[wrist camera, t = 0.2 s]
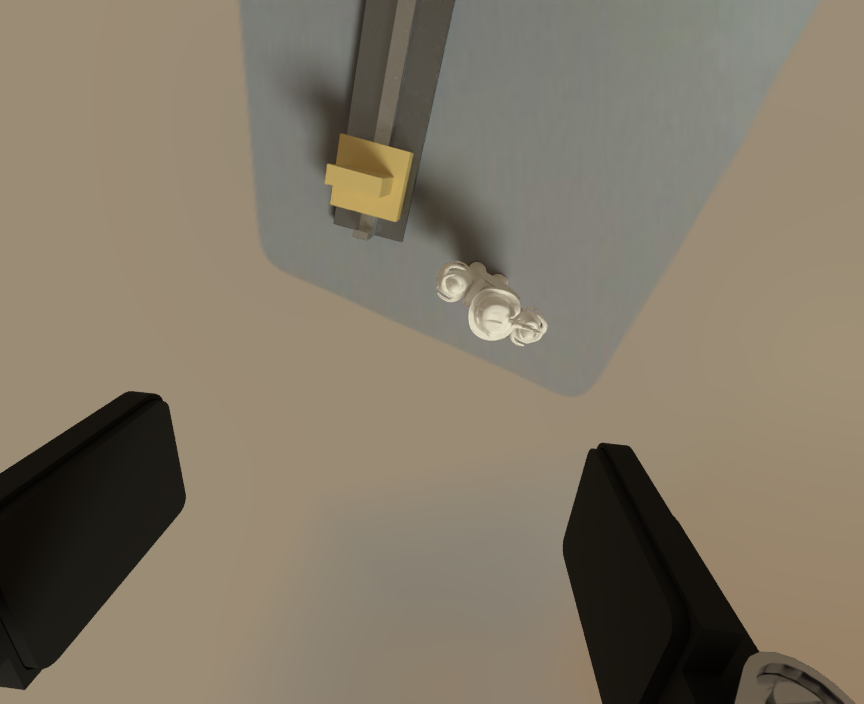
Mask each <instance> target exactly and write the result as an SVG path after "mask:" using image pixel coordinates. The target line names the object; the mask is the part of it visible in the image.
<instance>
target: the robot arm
mask: <svg viewBox="0 0 864 704" xmlns="http://www.w3.org/2000/svg"><path fill="white" fill-rule="evenodd" d="M185 500H186V494H185V488H184V483H183V478H182V472H181V467H180V462H179V457H178V452H177V446H176V441H175V436H174V431H173V425H172V420H171V415H170V410H169V406H168V404H167V403H166V402H164V401H163V400H162V398H161V397H160V396H159V395H157V394H153V393H144V392H134V391H128V392H126V393H124V394H122V395H121V396H119V397H118V398H116V399H114V400H113V401H111V402H110V403H108V404H107V405H105V406H104V407H102V408H101V409H99V410H97V411H96V412H94V413H93V414H91V415H90V416H88V417H87V418H85V419H84V420H82V421H80V422H79V423H77V424H76V425H74V426H73V427H71V428H70V429H68V430H67V431H65V432H64V433H62V434H60V435H59V436H57V437H56V438H55V439H53V440H51V441H50V442H48V443H47V444H45V445H43V446H42V447H40V448H39V449H38V450H36V451H35V452H33V453H31V454H30V455H28V456H26V457H25V458H23V459H22V460H20V461H19V462H17V463H16V464H14V465H13V466H11V467H9V468H8V469H6V470H5V471H4V472H2V473H0V687H7V688H15V689H22V690H25V689H26V688H27V687H28V686H29V684H30V683H31V682H32V681H33V680H34V678H35V677H36V676H37V675H38V674H39V673H40V672H41V670H42V669H44V668H47V667H49V666H51V665H52V664H53V663H54V662H56V661H57V659H58V658H59V657H60V656H61V655H62V654H63V653H64V651H65V650H66V649H67V648H68V647H69V645H70V644H71V643H72V642H73V641H74V639H75V638H76V637H77V636H78V634H79V633H80V632H81V631H82V630H83V629H84V627H85V626H86V625H87V624H88V623H89V621H90V620H91V619H92V618H93V617H94V615H95V614H96V613H97V611H99V609H100V608H101V607H102V606H103V605H104V603H105V602H106V601H107V600H108V599H109V597H110V596H111V595H112V594H113V592H114V591H115V590H116V589H117V588H118V586H119V585H120V584H121V583H122V581H124V579H125V578H126V577H127V576H128V575H129V573H130V572H131V571H132V570H133V569H134V567H135V566H136V565H137V564H138V562H139V561H140V560H141V559H142V558H143V557H144V555H145V554H146V553H147V552H148V551H149V549H150V548H151V547H152V546H153V545H154V543H155V542H156V541H157V540H158V539H159V537H160V536H161V535H162V534H163V533H164V531H165V530H166V529H167V528H168V527H169V525H170V524H171V523H172V522H173V521H174V519H175V518H176V517H177V516H178V514H179V513H180V512H181V511H182V509H183V507H184V504H185ZM563 556H564V560H565V564H566V568H567V571H568V575H569V579H570V583H571V587H572V590H573V594H574V598H575V602H576V606H577V609H578V613H579V617H580V621H581V624H582V628H583V632H584V636H585V640H586V643H587V647H588V651H589V655H590V658H591V662H592V666H593V670H594V674H595V677H596V681H597V685H598V689H599V693H600V696H601V700H602V704H855V702H854V701H853V700H851V699H850V698H849V697H848V696H847V695H846V694H845V693H844V692H843V691H842V690H841V689H840V688H839V687H838V686H836V685H835V684H834V683H833V682H832V681H830V680H829V679H828V678H826V677H825V676H823V675H822V674H821V673H819V672H818V671H816V670H815V669H814V668H812V667H810V666H808V665H806V664H804V663H802V662H800V661H798V660H796V659H795V658H792V657H789V656H786V655H782V654H779V653H776V652H759V651H758V649H757V647H756V646H755V644H754V643H753V641H752V639H751V638H750V636H749V635H748V633H747V631H746V630H745V628H744V626H743V625H742V623H741V622H740V620H739V619H738V617H737V615H736V614H735V612H734V610H733V609H732V607H731V606H730V604H729V602H728V601H727V600H726V598H725V596H724V594H723V593H722V591H721V589H720V588H719V586H718V585H717V583H716V581H715V580H714V578H713V576H712V575H711V573H710V572H709V570H708V568H707V567H706V565H705V564H704V562H703V560H702V559H701V557H700V556H699V554H698V552H697V551H696V549H695V547H694V546H693V544H692V543H691V541H690V539H689V538H688V536H687V535H686V533H685V531H684V530H683V528H682V527H681V525H680V524H679V522H678V521H677V520H676V518H675V517H674V516H673V515H672V513H671V512H670V510H669V509H668V507H667V505H666V504H665V502H664V500H663V499H662V497H661V496H660V494H659V492H658V491H657V489H656V487H655V486H654V484H653V483H652V481H651V479H650V478H649V476H648V474H647V473H646V471H645V469H644V468H643V466H642V465H641V463H640V461H639V460H638V458H637V457H636V455H635V453H634V452H633V450H632V449H631V448H630V447H629V446H627V445H618V444H609V443H600V444H599V445H598V447H597V449H590V450H589V452H588V455H587V459H586V462H585V466H584V469H583V473H582V476H581V480H580V483H579V487H578V491H577V494H576V498H575V501H574V504H573V508H572V512H571V515H570V519H569V522H568V526H567V529H566V533H565V536H564V540H563Z"/></svg>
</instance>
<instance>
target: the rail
mask: <svg viewBox="0 0 864 704" xmlns="http://www.w3.org/2000/svg"><path fill="white" fill-rule="evenodd" d="M454 3H455V0H366V5H365V12H364V19H363V26H362V33H361V40H360V46H359V53H358V60H357V67H356V74H355V81H354V87H353V94H352V101H351V108H350V115H349V122H348V129H347V135H349V136H353V137H356V138H360V139H364V140H367V141H371V142H375V143H378V144H382V145H385V146H389V147H393V148H396V149H400V150H404V151H407V152H411V153H414V154H413V158H412V163H411V168H410V173H409V177H408V182H407V187H406V192H405V197H404V201H403V206H402V211H401V216H400V219H399V220H398V221H397V222H393V221H390V220H386V219H382V218H379V217H375V216H371V215H367V214H364V213H360V212H356V211H353V210H349V209H345V208H342V207H338V206H336V211H335V217H334V224H335V225H339V226H343V227H347V228H350V229H353V235H352V237H356V238H359V239H363V240H368V239H370V238H371V237H372V236H374V235H376V236H380V237H384V238H388V239H391V240H395V241H399V242H402V241H403V238H404V234H405V229H406V224H407V220H408V215H409V210H410V206H411V201H412V197H413V192H414V187H415V183H416V178H417V174H418V169H419V164H420V160H421V155H422V151H423V146H424V141H425V137H426V132H427V128H428V123H429V118H430V114H431V109H432V105H433V100H434V95H435V91H436V86H437V82H438V77H439V72H440V68H441V63H442V58H443V54H444V49H445V45H446V40H447V35H448V31H449V26H450V22H451V17H452V12H453V8H454Z"/></svg>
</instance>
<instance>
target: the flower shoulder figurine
mask: <svg viewBox="0 0 864 704" xmlns="http://www.w3.org/2000/svg"><path fill="white" fill-rule="evenodd" d="M456 263H461V264H463V265H465V266H463V265H458V264H456ZM438 276H440V278H439V283H438V281H437V280H438ZM438 276H437V279H436V281H437V283H438V286H437V290H439V291H440V292H442V293H443V294H445V295H446V296H447V297H450V298H445V297H443V296H442V295H440V294H439V293H438V292H437V294H438V296H439V297H440V298H441V299H442V300H445V301H447V302H454V301H457V300H459V299H460V298H461V297H462V296H463V295H464V294H465V296H464V302H463V304H464V305H465V306H469V305H470V304H471V305H470V309H469V325H470V328H471V330H472V331H473V333H474V334H475V335H477V336H478V337H480V338H482V339H485V340H491V341H493V340H499V339H502V338H505V337H506V336H508V335H510V339H511V341H512V342H513V343H515V344H516V345H519V346H525V345H523V344H520V343H518V342H517V341H516V340H515V339H514V337H515V338H516V339H517V340H519V341H521V342H523V343H526V344H529V343H531V342H535V341H538V340H539V339H540V338H541V337H542V335H543V334H544V333H545V332H546V330H547V326H548V325H547V323H546V321H545V319H544V317H543V315H542V314H541V313H540V311H539V310H537V309H536V308H534V307H527V309H529V308H530V309H534V310H536V311H537V312H538V313H540V315H541V316H542V317H543V318H542V317H541V316H540V315H538V314H536V313H534V312H532V311H530V310H528V311H526V310H527V309H526V310H524V309H522V308H521V307H520V302H519V301H518V299H520V296H519V295H518V294H517V293H516V292H515V291H514V290H512V289H511V288H510V287H509V286H507V284H508V280H507V278H506V277H505V276H503V275H501V274H495V275H493V276H492V275H490V274H488V273H487V272H486V268H485V266H484V265H483V264H481V263H479V262H474V263H472V264H471V265H470V266H469V267H468V266H467V265H466V264H465V263H463V262H461V261H455V262H454V263H449V264H445V265H444V266H443V267H442V268H441V269H440V271H439V273H438ZM438 287H439V289H438Z"/></svg>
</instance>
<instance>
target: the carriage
mask: <svg viewBox="0 0 864 704" xmlns="http://www.w3.org/2000/svg"><path fill="white" fill-rule="evenodd" d="M413 154H414V153H411V152H407V151H404V150H400V149H396V148H393V147H389V146H385V145H382V144H378V143H375V142H371V141H367V140H364V139H360V138H356V137H353V136H349V135H346V134H342V133H340V138H339V145H338V152H337V159H336V164H327V170H326V177H325V184H328V185H332V186H333V188H332V195H331V202H330V205H334V206H338V207H342V208H345V209H349V210H353V211H356V212H360V213H364V214H367V215H371V216H375V217H379V218H382V219H386V220H390V221H393V222H397V221H398V220H399V219H400V216H401V211H402V206H403V201H404V197H405V192H406V187H407V182H408V177H409V173H410V168H411V163H412V158H413Z"/></svg>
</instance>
